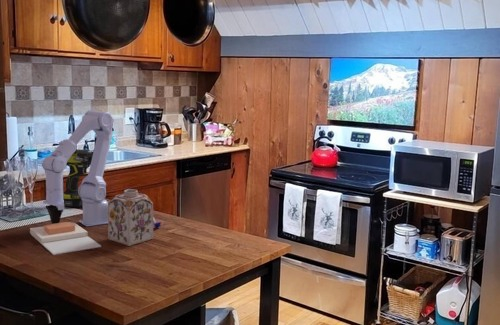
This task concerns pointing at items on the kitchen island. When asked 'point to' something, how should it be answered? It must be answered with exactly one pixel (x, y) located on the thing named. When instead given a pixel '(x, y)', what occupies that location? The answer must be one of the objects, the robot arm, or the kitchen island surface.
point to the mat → (71, 245)
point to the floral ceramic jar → (130, 218)
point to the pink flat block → (59, 228)
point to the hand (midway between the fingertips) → (55, 224)
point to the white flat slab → (46, 238)
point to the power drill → (76, 177)
